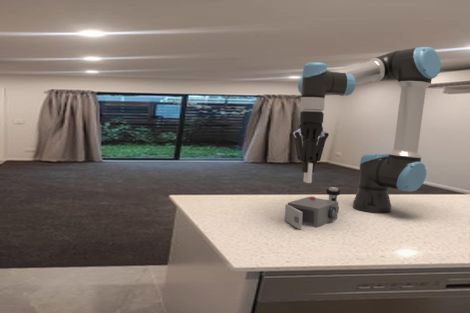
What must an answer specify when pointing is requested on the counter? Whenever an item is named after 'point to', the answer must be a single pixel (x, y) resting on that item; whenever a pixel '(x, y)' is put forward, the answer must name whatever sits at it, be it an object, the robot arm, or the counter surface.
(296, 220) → the door
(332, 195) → the push button
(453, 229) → the counter surface
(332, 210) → the housing
